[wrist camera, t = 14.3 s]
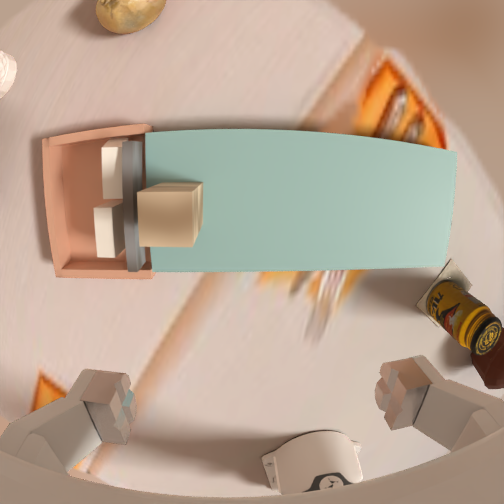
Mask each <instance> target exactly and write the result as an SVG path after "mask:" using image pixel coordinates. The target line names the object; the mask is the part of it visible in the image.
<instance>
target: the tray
mask: <svg viewBox="0 0 504 504" xmlns="http://www.w3.org/2000/svg"><path fill="white" fill-rule="evenodd" d="M150 132H153V126H150V125H147V124H134V125H125V126H117V127H109V128H102V129H95V130H88V131H82V132H76V133H70V134H65V135H59V136H54V137H49V138H44V139H42V157H43V181H44V196H45V207H46V216H47V225H48V233H49V240H50V246H51V253H52V258H53V264H54V269H55V275H56V277H62V278H104V279H152V278H153V276H154V275H155V273H156V272H152V263H151V252H150V247H145V259H146V262H145V263H144V264H143V266H142V267H141V268H140V270H139V271H138V272H128V269H127V259H126V248H125V249H124V250H123V251H122V252H121V253H120V254H119V255H118V256H116V257H115V258H105V257H97V247H96V236H95V224H94V208H95V207H97V206H99V205H102V204H104V203H107V202H109V201H111V200H123V199H103V186H102V147H103V146H104V144H105V143H106V142H107V141H108V140H109V139H110V138H126V137H129V140H128V141H138V142H142V190H144V189H146V155H145V133H150Z"/></svg>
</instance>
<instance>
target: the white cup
mask: <svg viewBox="0 0 504 504" xmlns="http://www.w3.org/2000/svg"><path fill="white" fill-rule="evenodd" d="M16 73H17V62H16V60H15V58H14V57H13V56H11V55H9V54H6V53H4V52H2V51H1V50H0V99H1V98H2V97H3V96H4V95H5V94H6V93H7V92H8V91H9V89H10V88H11V86H12V84H13V83H14V80H15V76H16Z"/></svg>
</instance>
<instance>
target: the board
mask: <svg viewBox="0 0 504 504" xmlns="http://www.w3.org/2000/svg"><path fill="white" fill-rule="evenodd" d="M145 155H146V188H149V187H152V186H154V185H157V184H159V183H162V182H203V225H202V227H201V229H200V231H199V234H198V236H197V238H196V240H195V243H194V245H193V247H150V252H151V263H152V272H256V271H315V270H355V269H388V268H416V267H441V266H444V265H445V260H446V254H447V249H448V243H449V236H450V229H451V222H452V214H453V205H454V195H455V183H456V168H457V152H454V151H449V150H444V149H439V148H434V147H429V146H424V145H418V144H413V143H407V142H400V141H394V140H387V139H380V138H372V137H364V136H356V135H346V134H336V133H325V132H311V131H295V130H271V129H202V130H179V131H163V132H150V133H145Z"/></svg>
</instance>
